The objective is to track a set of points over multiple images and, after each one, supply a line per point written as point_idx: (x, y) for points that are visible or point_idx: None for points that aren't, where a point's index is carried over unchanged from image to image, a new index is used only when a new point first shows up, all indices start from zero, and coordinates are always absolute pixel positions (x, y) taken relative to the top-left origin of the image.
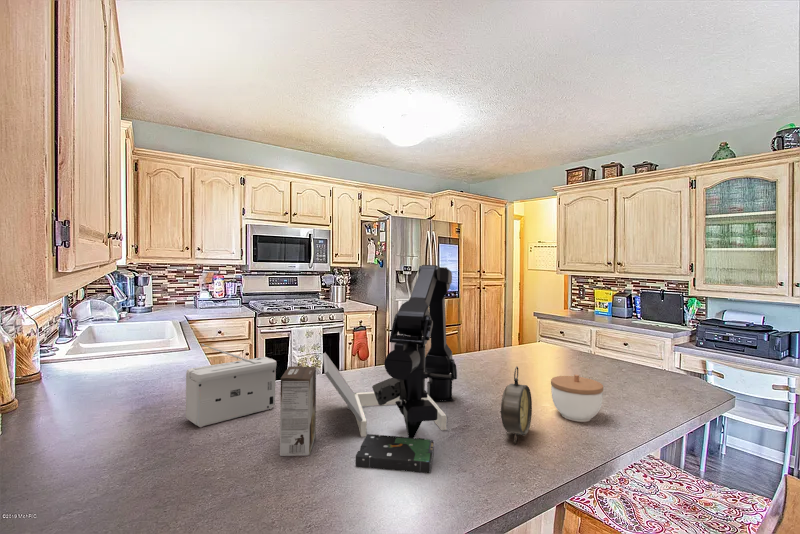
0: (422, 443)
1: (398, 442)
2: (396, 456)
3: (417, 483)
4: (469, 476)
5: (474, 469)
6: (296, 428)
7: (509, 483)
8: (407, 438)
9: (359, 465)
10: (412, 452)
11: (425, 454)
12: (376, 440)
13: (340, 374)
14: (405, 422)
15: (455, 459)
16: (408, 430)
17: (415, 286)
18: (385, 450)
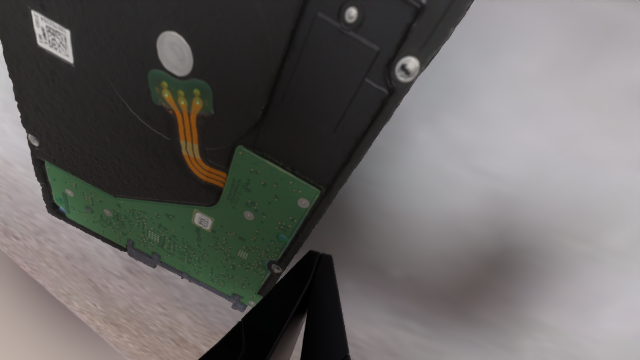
0: (216, 268)
1: (238, 173)
2: (45, 83)
3: (13, 114)
4: (104, 264)
5: (141, 290)
6: None
7: (95, 303)
8: (286, 241)
9: None
10: (115, 188)
11: (113, 228)
12: None
13: None
14: (318, 343)
15: (192, 288)
16: (271, 289)
17: None
18: (101, 25)
